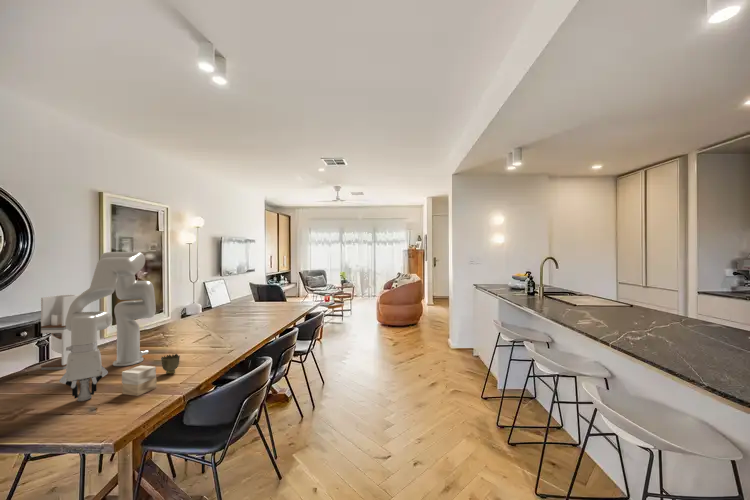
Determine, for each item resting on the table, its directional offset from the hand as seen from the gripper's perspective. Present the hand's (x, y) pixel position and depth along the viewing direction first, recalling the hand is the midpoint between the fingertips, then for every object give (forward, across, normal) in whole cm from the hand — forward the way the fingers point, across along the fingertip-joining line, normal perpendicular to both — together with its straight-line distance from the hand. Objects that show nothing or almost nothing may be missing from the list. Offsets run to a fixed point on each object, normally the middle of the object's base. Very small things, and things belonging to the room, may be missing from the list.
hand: (84, 394), depth 128 cm
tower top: (-3, +17, -4) cm, 18 cm away
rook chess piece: (+2, 0, 0) cm, 2 cm away
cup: (+2, +30, +12) cm, 32 cm away
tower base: (+2, +17, -4) cm, 18 cm away
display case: (+2, -12, +59) cm, 61 cm away
